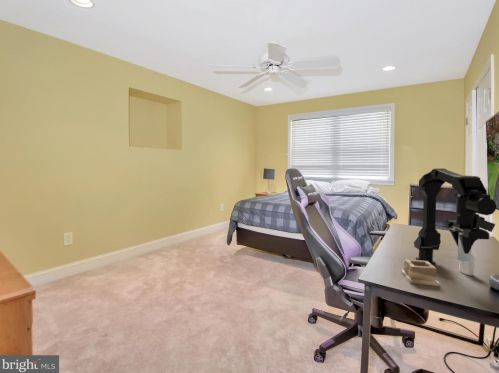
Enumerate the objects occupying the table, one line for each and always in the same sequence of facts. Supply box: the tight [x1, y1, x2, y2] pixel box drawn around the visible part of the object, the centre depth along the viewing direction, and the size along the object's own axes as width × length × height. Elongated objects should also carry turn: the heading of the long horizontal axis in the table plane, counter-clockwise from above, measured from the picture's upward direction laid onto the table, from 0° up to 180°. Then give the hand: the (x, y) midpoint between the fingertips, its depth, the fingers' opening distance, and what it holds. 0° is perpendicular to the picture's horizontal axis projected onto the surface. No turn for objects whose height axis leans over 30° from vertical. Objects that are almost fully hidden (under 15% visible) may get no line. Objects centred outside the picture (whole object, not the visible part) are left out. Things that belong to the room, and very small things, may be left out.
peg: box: [456, 232, 470, 262], centre depth 102 cm, size 4×4×10 cm
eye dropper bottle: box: [458, 248, 476, 276], centre depth 114 cm, size 4×6×12 cm
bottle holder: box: [400, 259, 441, 287], centre depth 109 cm, size 12×10×6 cm
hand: (463, 251), depth 102 cm, fingers closed on peg, 3 cm apart
